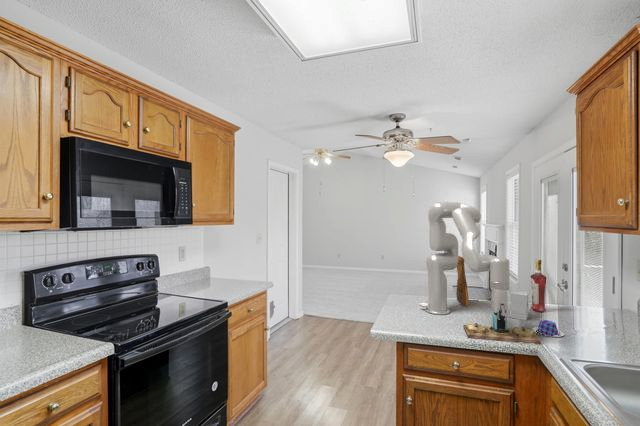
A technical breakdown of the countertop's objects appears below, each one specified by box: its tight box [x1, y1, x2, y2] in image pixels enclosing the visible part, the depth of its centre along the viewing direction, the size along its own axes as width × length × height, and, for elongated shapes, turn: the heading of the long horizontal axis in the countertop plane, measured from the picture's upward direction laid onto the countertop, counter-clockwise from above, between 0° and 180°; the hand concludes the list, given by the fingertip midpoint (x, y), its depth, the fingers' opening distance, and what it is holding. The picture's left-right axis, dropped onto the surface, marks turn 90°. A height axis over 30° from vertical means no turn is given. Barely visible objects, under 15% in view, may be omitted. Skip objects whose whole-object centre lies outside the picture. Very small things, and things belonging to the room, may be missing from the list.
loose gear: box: [491, 314, 508, 330], centre depth 151 cm, size 6×6×5 cm
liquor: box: [530, 259, 547, 313], centre depth 186 cm, size 7×7×28 cm
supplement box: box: [510, 290, 529, 321], centre depth 176 cm, size 7×7×13 cm
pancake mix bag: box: [456, 255, 470, 307], centre depth 203 cm, size 7×19×28 cm, turn 168°
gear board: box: [462, 322, 542, 345], centre depth 151 cm, size 28×13×4 cm, turn 75°
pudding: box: [531, 319, 565, 338], centre depth 154 cm, size 12×12×5 cm
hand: (499, 326), depth 151 cm, fingers closed on loose gear, 5 cm apart
